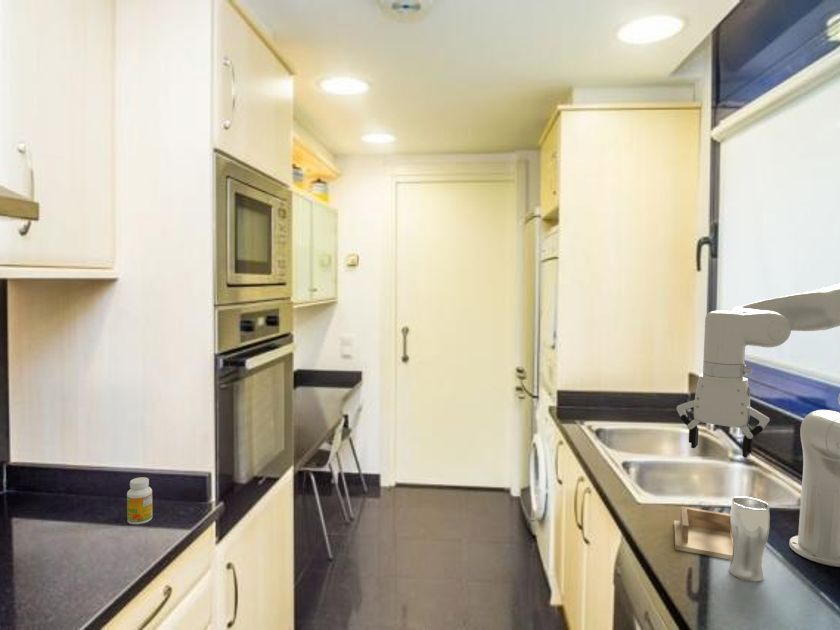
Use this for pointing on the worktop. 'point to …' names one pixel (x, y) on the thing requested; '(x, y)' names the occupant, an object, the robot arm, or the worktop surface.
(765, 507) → the beer glass
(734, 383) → the robot arm
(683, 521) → the glass rest
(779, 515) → the worktop surface
